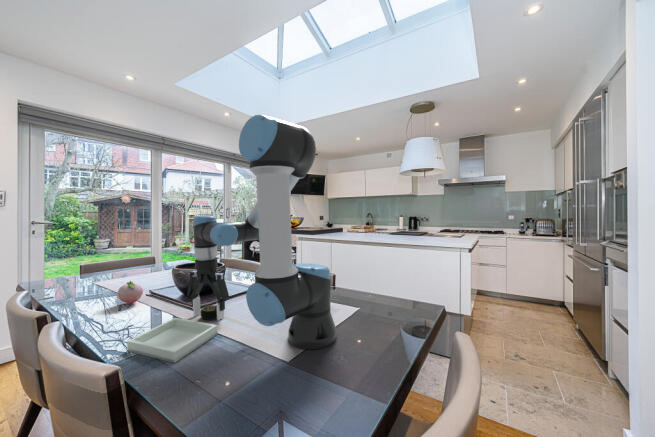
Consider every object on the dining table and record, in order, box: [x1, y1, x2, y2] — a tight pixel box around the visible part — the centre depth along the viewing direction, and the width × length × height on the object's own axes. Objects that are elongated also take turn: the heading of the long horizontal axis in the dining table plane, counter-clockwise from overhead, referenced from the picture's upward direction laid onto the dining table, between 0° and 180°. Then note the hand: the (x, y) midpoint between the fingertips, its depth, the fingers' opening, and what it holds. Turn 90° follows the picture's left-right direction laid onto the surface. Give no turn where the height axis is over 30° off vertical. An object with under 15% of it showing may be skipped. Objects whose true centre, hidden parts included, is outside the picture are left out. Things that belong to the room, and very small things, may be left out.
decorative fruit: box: [117, 280, 144, 305], centre depth 111 cm, size 9×8×10 cm
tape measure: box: [199, 304, 217, 320], centre depth 98 cm, size 7×7×4 cm
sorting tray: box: [126, 317, 219, 364], centre depth 81 cm, size 18×16×3 cm
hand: (208, 316), depth 98 cm, fingers open, 10 cm apart
